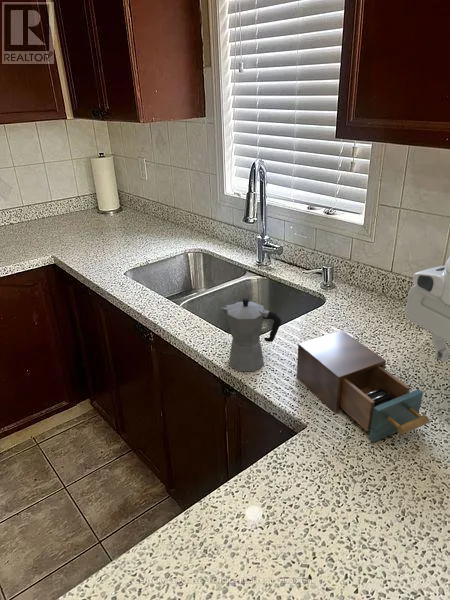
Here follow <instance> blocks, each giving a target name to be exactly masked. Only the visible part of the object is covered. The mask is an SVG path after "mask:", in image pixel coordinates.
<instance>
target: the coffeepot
mask: <svg viewBox="0 0 450 600" xmlns="http://www.w3.org/2000/svg"><path fill="white" fill-rule="evenodd" d="M219 309H220V310H221V311H222V312H223V314H224V315H225V316H226V318H227V320H228V324H229V329H230V333H231V337H232V340H231V345H230V346H231V347H230V353H229V366H230V367H231V368H232V367H233V368H234V369H233V368H232V369H233V370H235V369H236V370H235V371H237V370H239V371H238V372H241V371H242V372H241V373H244V372H243V371H252V372H255V371H258V370H260V369H261V368H262V367H264V365H265V362H264V355H263V350H262V343H261V338H260V337H261V335H262V331H263V325H264V320H272V321H273V323H272V327H271V330H270V332H269V337H264V341H265V342H268V343H273V342H274V340H275V338H276V336H277V333H278V331H279V329H280V326H281V325H282V319H281V317H280V316H279V314H278V313H277V312H276V311H270V310H268V309H265V308H264V305H262V304H260V303H257V302H255V301H250V298H246V297H244V298H242V300H241V301H236V302H235V303H233V304H226V305H222V306H221V307H220V308H219Z"/></svg>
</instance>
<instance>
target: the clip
mask: <svg viewBox="0 0 450 600" xmlns="http://www.w3.org/2000/svg"><path fill="white" fill-rule="evenodd" d="M366 395H367V396H368V397H370V398H371V399H372V400H373V401H374V407H376V406H378V405H381V404H383V403H386V402H388V401H390V400H391V397H392V395H390V394H389V393H388V392H386V391H385V390H384V389H382V388H379V389H376V390H374V391H371V392H368V393H366Z"/></svg>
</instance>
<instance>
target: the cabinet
mask: <svg viewBox="0 0 450 600" xmlns="http://www.w3.org/2000/svg"><path fill="white" fill-rule="evenodd" d="M386 363H387V359H384V358H383V357H382V356H380V355H379V354H377V353H376V352H375V351H373V350H371V349H370V348H369V347H367V346H366V345H364V344H363V343H361V342H360V341H359V340H357V339H356V338H354V337H353V336H351V335H350V334H348V333H347V332H345V331H344V330H338V331H335V332H331V333H328V334H325V335H323V336H318V337H316V338H313V339H309V340H305V341H303V342H299V343H297V365H296V378H297V380H298V381H300V383H302V385H304V386H305V387H306V388H307V389H308V390H309V391H310V392H311V393H312V394H313V395H315V396H316V398H318V399H319V400H320V401H321V402H322V403H323V404H324V405H325V406H326V407H327V408H329V410H330V411H332V412H333V413H334V414H335V415H337V414H339V413H341V412H345V411H344V410H343V409H342V408H341V407H340V406H339V401H340V391H341V381H342V379H344V378H347V377H350V376H352V375H355V374H358V373H361V372H363V371H366V370H369V369H372V368H374V367H377V366H381V367H382V368H384V369H385V370H386V365H387V364H386Z"/></svg>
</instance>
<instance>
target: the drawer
mask: <svg viewBox="0 0 450 600" xmlns="http://www.w3.org/2000/svg"><path fill="white" fill-rule="evenodd" d="M379 388H382V389H384V390H385V391H386V392H388V393H389V394H390V395H392V397H391V400H390V401H388V402H386V403H383V404H381V405H378V406H376V407H374V401H373V400H372V399H371V398H370V397H368V396H367V395H366V393H368V392H371V391H374V390H376V389H379ZM423 395H424V392H423V391H422V390H420V389H419V388H418V389H415V390H413V391H411V386H409V385H408V384H407V383H405V382H404V381H403V380H400V379H399V378H398V377H397V376H395V375H394V374H393V373H391V372H389V371H388V370H387V369H386V368H385V369H384V368H382V367H381V366H377V367H374V368H372V369H369V370H366V371H363V372H361V373H358V374H355V375H352V376H350V377H347V378H344V379H342V381H341V391H340V401H339V406H340V407H341V408H342V409H343V410H344V411H343V412H345V413H346V414H347V415H348V416H349V417H350V418H351V419H353V420H354V421H355V422H356V423H357V424H358V425H359V426H360V427H362V429H364V430H365V432H367V433H368V432H369V437H368V439H369V440H370V441H372V443H376V442H377V441H380V440H382V439H384V438H387V437H389V436H391V435H394V434H396V433H399V435H402V436H403V435H405V434H408V433H409V432H412V431H414V430H417V429H418V428H420V427H423V426H425V425H427V424H429V423H430V418H429V417H428V415H426V414H423V415H422V414H421V413H420V410H421V405H422V400H423Z"/></svg>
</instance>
